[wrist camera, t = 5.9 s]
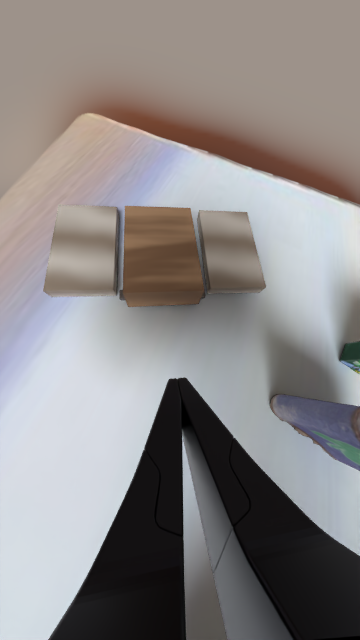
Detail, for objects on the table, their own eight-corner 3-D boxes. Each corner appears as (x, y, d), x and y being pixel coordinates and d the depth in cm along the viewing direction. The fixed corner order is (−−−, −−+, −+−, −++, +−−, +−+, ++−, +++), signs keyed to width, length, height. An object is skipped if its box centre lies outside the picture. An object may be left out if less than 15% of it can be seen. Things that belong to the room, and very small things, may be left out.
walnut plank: (204, 290, 18) (190, 208, 22) (122, 293, 17) (125, 205, 21) (198, 303, 20) (187, 228, 25) (128, 306, 19) (129, 227, 24)
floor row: (260, 296, 22) (267, 291, 21) (50, 302, 19) (42, 296, 18) (242, 221, 26) (246, 212, 25) (64, 215, 23) (58, 204, 22)
